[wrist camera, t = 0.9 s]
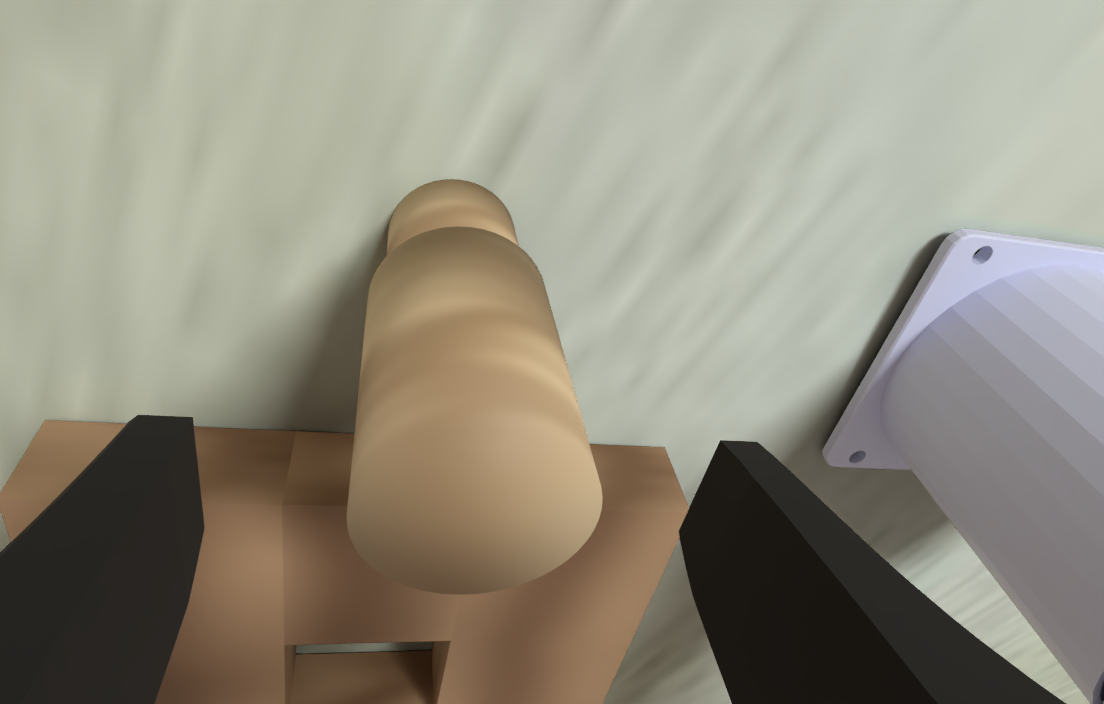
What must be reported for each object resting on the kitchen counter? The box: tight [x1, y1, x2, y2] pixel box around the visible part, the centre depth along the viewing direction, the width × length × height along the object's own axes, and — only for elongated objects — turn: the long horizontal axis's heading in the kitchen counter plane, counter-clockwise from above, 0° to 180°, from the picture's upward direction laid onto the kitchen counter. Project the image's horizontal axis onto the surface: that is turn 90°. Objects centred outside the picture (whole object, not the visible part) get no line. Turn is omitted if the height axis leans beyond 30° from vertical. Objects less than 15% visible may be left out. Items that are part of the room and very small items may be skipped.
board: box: [0, 420, 689, 704], centre depth 22 cm, size 16×16×2 cm
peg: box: [347, 179, 603, 595], centre depth 13 cm, size 3×3×8 cm
